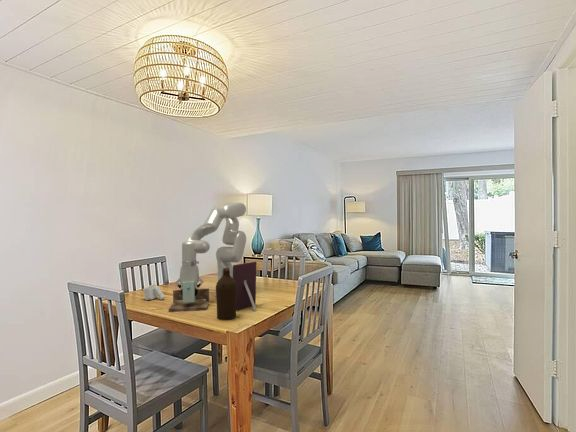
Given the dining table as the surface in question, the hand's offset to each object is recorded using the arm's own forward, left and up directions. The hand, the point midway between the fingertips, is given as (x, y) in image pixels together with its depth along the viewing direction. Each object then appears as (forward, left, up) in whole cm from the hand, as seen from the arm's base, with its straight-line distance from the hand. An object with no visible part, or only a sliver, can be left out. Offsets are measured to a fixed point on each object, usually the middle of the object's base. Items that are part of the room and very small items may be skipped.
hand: (189, 295), depth 179 cm
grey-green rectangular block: (0, 0, -3) cm, 3 cm away
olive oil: (-21, +19, -7) cm, 29 cm away
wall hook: (+23, -23, -7) cm, 33 cm away
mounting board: (0, -2, -7) cm, 7 cm away
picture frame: (-33, +8, -7) cm, 35 cm away
